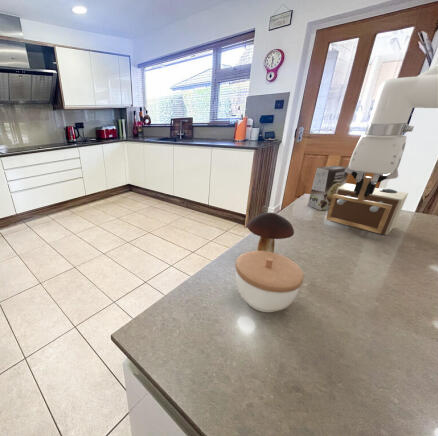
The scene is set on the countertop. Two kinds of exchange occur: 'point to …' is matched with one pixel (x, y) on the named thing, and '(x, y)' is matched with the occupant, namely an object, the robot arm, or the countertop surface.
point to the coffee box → (326, 185)
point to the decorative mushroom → (269, 230)
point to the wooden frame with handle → (361, 200)
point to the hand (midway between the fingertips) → (362, 194)
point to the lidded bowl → (267, 280)
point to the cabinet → (368, 208)
